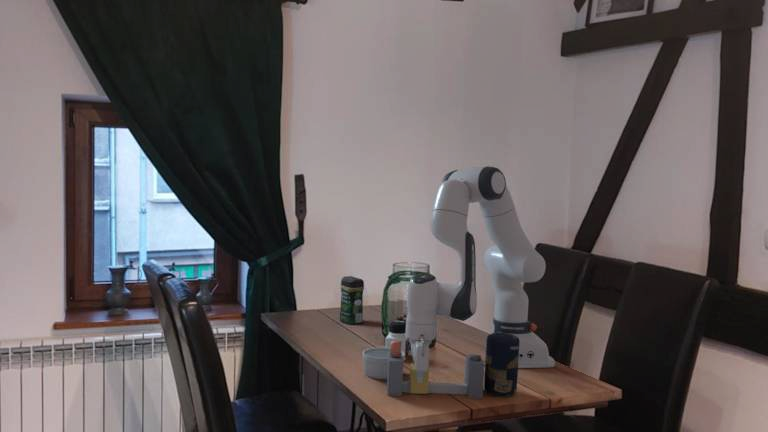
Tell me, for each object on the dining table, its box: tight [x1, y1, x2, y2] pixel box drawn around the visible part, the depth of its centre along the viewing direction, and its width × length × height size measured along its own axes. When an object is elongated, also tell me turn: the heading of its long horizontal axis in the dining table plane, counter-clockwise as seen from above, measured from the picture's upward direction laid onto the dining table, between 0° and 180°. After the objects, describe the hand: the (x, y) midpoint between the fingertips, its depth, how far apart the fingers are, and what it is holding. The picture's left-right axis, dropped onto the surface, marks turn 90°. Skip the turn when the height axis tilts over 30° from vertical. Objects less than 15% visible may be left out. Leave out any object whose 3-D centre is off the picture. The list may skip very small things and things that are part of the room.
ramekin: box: [362, 347, 405, 380], centre depth 220 cm, size 13×13×7 cm
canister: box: [483, 332, 520, 397], centre depth 206 cm, size 10×10×18 cm
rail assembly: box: [386, 352, 485, 399], centre depth 205 cm, size 27×9×11 cm, turn 91°
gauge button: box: [390, 340, 402, 357], centre depth 204 cm, size 3×3×4 cm
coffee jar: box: [339, 275, 365, 325], centre depth 287 cm, size 10×8×19 cm
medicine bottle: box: [384, 320, 410, 361], centre depth 240 cm, size 7×7×12 cm
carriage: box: [409, 363, 430, 395], centre depth 205 cm, size 5×6×7 cm
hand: (418, 378), depth 205 cm, fingers closed on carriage, 6 cm apart
